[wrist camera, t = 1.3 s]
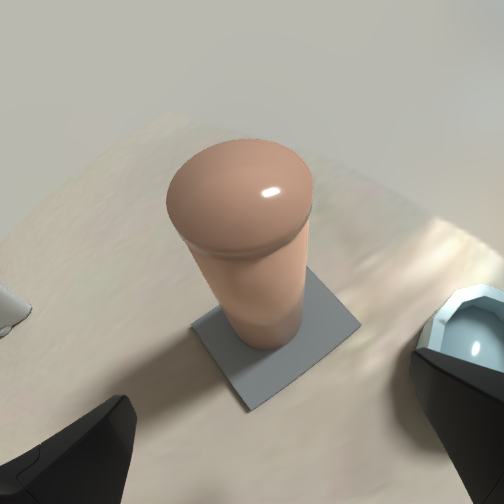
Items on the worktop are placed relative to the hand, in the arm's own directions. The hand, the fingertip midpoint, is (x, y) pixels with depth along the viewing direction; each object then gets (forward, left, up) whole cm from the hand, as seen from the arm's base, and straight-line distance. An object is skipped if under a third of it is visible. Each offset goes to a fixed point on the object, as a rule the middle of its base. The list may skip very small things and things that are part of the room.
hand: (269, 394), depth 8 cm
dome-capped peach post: (+3, +6, -13) cm, 14 cm away
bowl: (+13, -8, -13) cm, 20 cm away
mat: (+3, +5, -13) cm, 14 cm away
